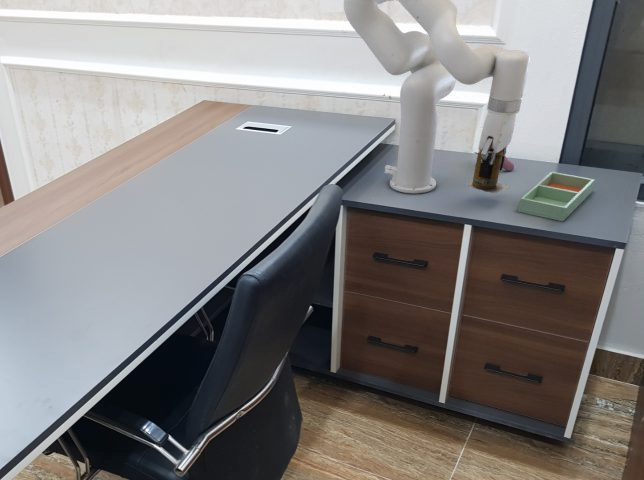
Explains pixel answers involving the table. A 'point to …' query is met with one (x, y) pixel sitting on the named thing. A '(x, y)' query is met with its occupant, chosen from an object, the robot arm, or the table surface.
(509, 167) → the pink animal figurine
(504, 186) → the condiment
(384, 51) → the robot arm
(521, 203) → the tray
